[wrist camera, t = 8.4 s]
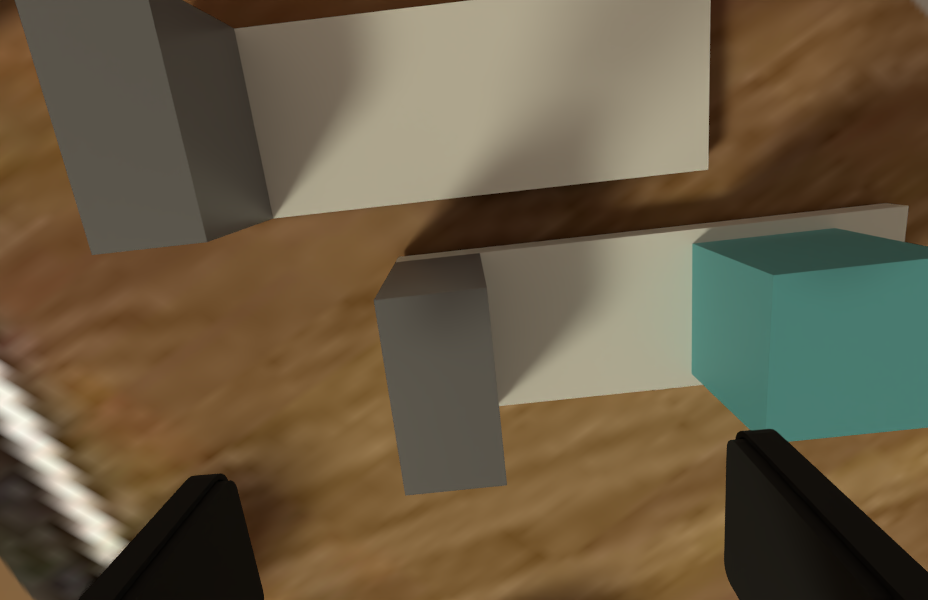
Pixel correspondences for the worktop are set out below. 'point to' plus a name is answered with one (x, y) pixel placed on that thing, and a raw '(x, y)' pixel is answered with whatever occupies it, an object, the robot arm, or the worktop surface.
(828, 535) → the robot arm
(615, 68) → the empty strip
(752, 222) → the strip with cube
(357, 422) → the worktop surface
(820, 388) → the cube
